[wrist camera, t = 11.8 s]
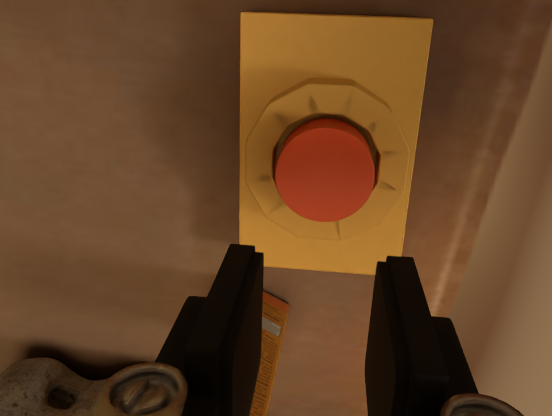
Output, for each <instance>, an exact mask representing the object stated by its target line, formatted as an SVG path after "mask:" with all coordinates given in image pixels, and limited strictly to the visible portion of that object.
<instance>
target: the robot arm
mask: <svg viewBox="0 0 552 416" xmlns="http://www.w3.org/2000/svg"><path fill="white" fill-rule="evenodd" d="M263 267H264V254H263V252H255V246H254V245H241V244H230V246H229V248H228V251H227V253H226V255H225V257H224V260H223V262H222V264H221V267H220V269H219V271H218V273H217V276H216V278H215V280H214V283H213V285H212V287H211V289H210V292H209V294H208V296H207V297H197V296H189V297H188V298H187V300H186V301H185V303H184V305H183V307H182V309H181V311H180V313H179V315H178V317H177V319H176V321H175V323H174V325H173V327H172V329H171V331H170V333H169V335H168V337H167V339H166V341H165V343H164V345H163V347H162V349H161V351H160V353H159V355H158V357H157V359H156V361H155V362H151V363H140V364H136V365H132V366H129V367H127V368H125V369H122V370H120V371H118V372H117V373H115V374H114V375H113V376H111V377H110V378H109V379H108V380H107V381H106V383H105V384H104V385H103V387H102V388H101V390H100V392H99V394H98V396H97V398H96V400H95V401H94V403H93V405H92V407H91V409H90V411H89V413H88V415H87V416H249V415H250V410H251V406H252V401H253V396H254V391H255V386H256V382H257V377H258V372H259V367H260V361H261V346H262V307H263ZM365 383H366V396H367V408H368V416H524V415H523V414H521V413H520V412H519V411H518V410H517V409H515V408H514V407H512V406H511V405H509V404H507V403H506V402H503V401H501V400H499V399H496V398H494V397H491V396H487V395H482V394H479V393H478V390H477V388H476V385H475V382H474V380H473V377H472V375H471V372H470V369H469V366H468V363H467V361H466V358H465V355H464V353H463V350H462V347H461V345H460V342H459V339H458V336H457V334H456V331H455V328H454V326H453V323H452V321H451V319H450V318H445V317H433V316H431V314H430V311H429V307H428V304H427V301H426V298H425V295H424V291H423V288H422V285H421V282H420V278H419V275H418V272H417V269H416V265H415V262H414V259H413V257H400V256H387V258H386V262H382V261H378V262H377V266H376V273H375V282H374V290H373V299H372V308H371V316H370V325H369V333H368V342H367V350H366V359H365Z"/></svg>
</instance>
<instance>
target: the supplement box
mask: <svg viewBox="0 0 552 416" xmlns="http://www.w3.org/2000/svg"><path fill="white" fill-rule="evenodd" d="M288 312H289V305H288V304H287V303H285V302H283V301H281V300H279V299H277V298H276V297H274V296H272V295H270V294H268V293H266V292H264V291H263V307H262V346H261V361H260V367H259V372H258V377H257V382H256V386H255V391H254V396H253V401H252V406H251V410H250V415H249V416H266V414H267V410H268V405H269V401H270V397H271V392H272V388H273V383H274V378H275V374H276V370H277V365H278V360H279V355H280V351H281V346H282V341H283V337H284V332H285V327H286V322H287V317H288Z"/></svg>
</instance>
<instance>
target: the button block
mask: <svg viewBox="0 0 552 416" xmlns="http://www.w3.org/2000/svg"><path fill="white" fill-rule="evenodd" d="M432 28H433V19H430V18H420V17H392V16H363V15H335V14H307V13H279V12H251V11H249V12H241V13H240V174H239V244H241V245H254V246H255V252H263V254H264V266H266V267H279V268H292V269H304V270H317V271H330V272H343V273H355V274H368V275H375V273H376V266H377V262H378V261H382V262H386V258H387V256H400V257H401V255H402V248H403V240H404V233H405V226H406V218H407V211H408V204H409V196H410V189H411V182H412V174H413V167H414V160H415V152H416V145H417V138H418V130H419V123H420V116H421V108H422V101H423V94H424V86H425V79H426V72H427V64H428V57H429V50H430V42H431V35H432ZM322 118H329V119H336V120H340V121H343V122H345V123H347V124H349V125H351V126H353V127H354V128H355V129H357V130H358V131H359V132H360V133H361V134H362V136H363V137H364V138H365V140H366V142H367V143H368V146H369V148H370V151H371V155H372V159H373V163H374V168H375V181H374V186H373V189H372V192H371V194H370V196H369V198H368V199H367V201H366V202H365V204H364V205H363V206H362V207H361V208H360V209H359V210H358V211H356V212H355V213H353V214H352V215H350V216H348V217H346V218H344V219H341V220H337V221H332V222H318V221H313V220H309V219H306V218H304V217H302V216H300V215H298V214H296V213H295V212H294V211H292V210H291V209H290V208H289V207H288V206H287V205H286V204H285V202H284V201H283V199H282V198H281V196H280V194H279V192H278V189H277V186H276V181H275V168H276V163H277V160H278V157H279V154H280V152H281V149H282V147H283V144H284V142H285V141H286V139H287V138H288V136H289V135H290V134H291V133H292V132H293V131H294V130H295V129H296V128H298V127H299V126H301V125H302V124H304V123H306V122H309V121H312V120H315V119H322Z"/></svg>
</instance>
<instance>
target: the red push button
mask: <svg viewBox="0 0 552 416" xmlns="http://www.w3.org/2000/svg"><path fill="white" fill-rule="evenodd" d="M275 181H276V186H277V189H278V192H279V194H280V196H281V198H282V199H283V201H284V202H285V204H286V205H287V206H288V207H289V208H290V209H291V210H292V211H294V212H295V213H296V214H298V215H300V216H302V217H304V218H306V219H309V220H313V221H318V222H332V221H337V220H341V219H344V218H346V217H348V216H350V215H352V214H353V213H355V212H356V211H358V210H359V209H360V208H361V207H362V206H363V205H364V204H365V202H366V201H367V199H368V198H369V196H370V194H371V192H372V189H373V186H374V181H375V168H374V163H373V159H372V155H371V151H370V148H369V146H368V143H367V142H366V140H365V138H364V137H363V136H362V134H361V133H360V132H359V131H358V130H357V129H355V128H354V127H353V126H351V125H349V124H347V123H345V122H343V121H340V120H336V119H329V118H322V119H315V120H312V121H309V122H306V123H304V124H302V125H301V126H299V127H298V128H296V129H295V130H294V131H293V132H292V133H291V134H290V135H289V136H288V138H287V139H286V141H285V142H284V144H283V147H282V149H281V152H280V154H279V157H278V160H277V163H276V168H275Z"/></svg>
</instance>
